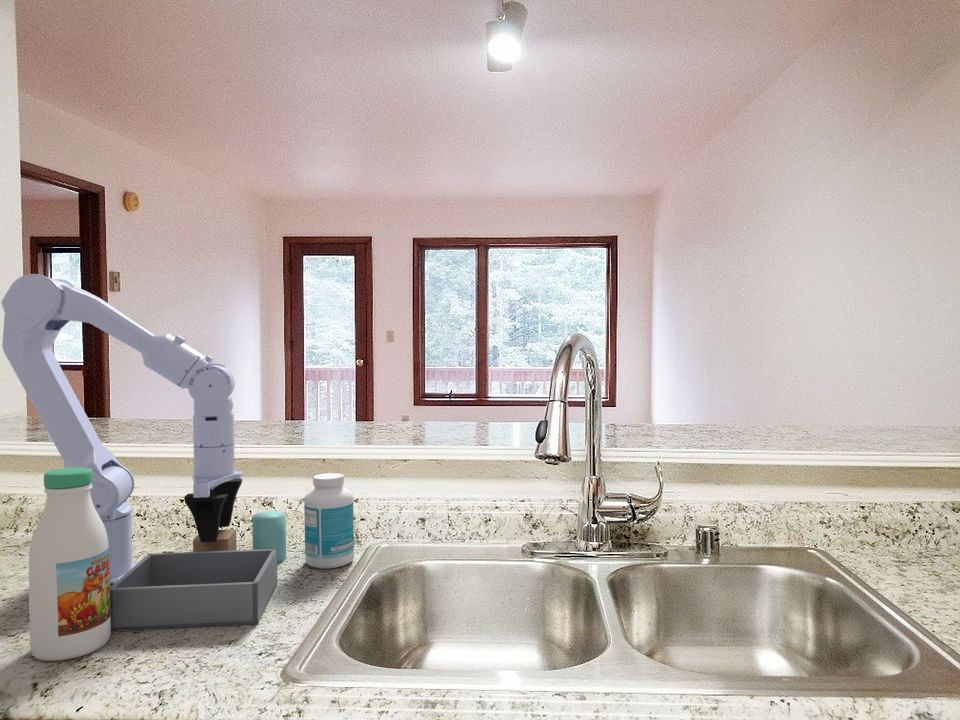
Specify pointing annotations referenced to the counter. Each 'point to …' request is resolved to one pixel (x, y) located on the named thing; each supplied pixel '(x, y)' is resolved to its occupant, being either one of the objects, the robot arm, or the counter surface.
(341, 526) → the pill bottle
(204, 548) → the walnut cube
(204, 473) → the robot arm
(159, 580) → the tote
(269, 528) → the teal cylinder
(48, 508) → the milk bottle
